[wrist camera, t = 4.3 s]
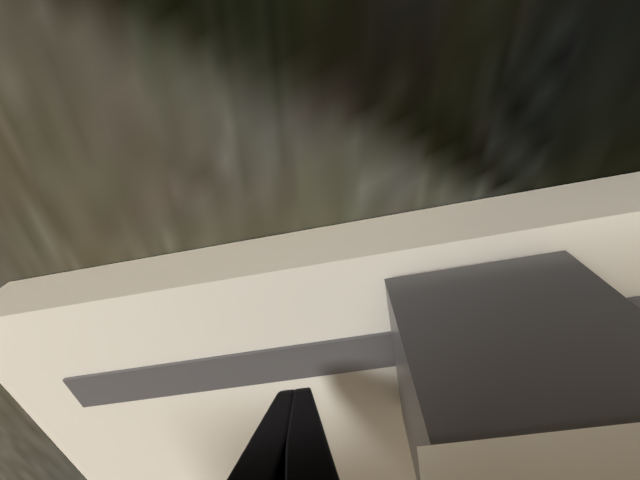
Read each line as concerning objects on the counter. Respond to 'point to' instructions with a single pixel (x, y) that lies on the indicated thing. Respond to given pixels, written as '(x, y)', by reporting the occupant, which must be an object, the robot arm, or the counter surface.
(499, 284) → the grey and white slider
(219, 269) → the slotted slider plate
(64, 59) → the counter surface
